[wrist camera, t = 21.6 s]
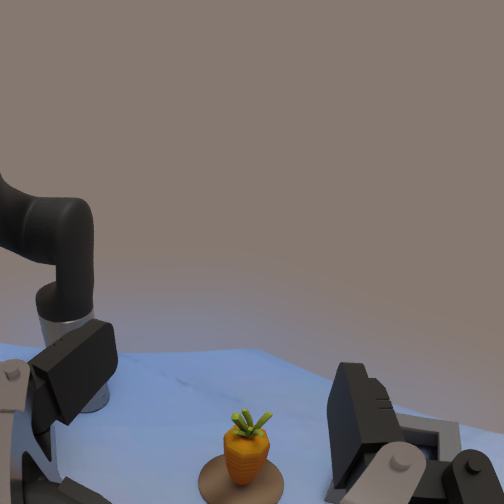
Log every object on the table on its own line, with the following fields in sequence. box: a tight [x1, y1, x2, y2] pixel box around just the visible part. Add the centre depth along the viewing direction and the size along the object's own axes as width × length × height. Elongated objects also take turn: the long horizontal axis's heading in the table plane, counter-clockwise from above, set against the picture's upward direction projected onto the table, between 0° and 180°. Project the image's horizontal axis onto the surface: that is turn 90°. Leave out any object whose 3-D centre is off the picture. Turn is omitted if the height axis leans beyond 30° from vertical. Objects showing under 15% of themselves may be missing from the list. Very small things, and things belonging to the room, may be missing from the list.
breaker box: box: [324, 413, 461, 504], centre depth 28 cm, size 18×16×6 cm
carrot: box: [224, 409, 273, 485], centre depth 26 cm, size 5×5×15 cm
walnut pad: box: [199, 454, 284, 504], centre depth 28 cm, size 11×11×1 cm
